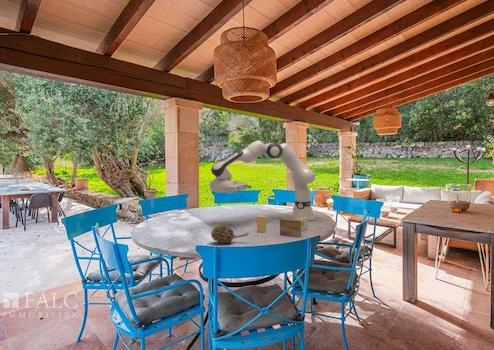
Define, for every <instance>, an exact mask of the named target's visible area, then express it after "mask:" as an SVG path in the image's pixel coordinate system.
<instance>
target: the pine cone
mask: <svg viewBox="0 0 494 350" xmlns="http://www.w3.org/2000/svg"><path fill="white" fill-rule="evenodd" d="M249 234H250V232H246V233H243V234H239V235H236V234H235V233H234V230H233V229H232V228H231V227H227V226H225V225H218V226H215V227H214V228H213V229H211V235H210V237H211V239H212V240H214V241H215V242H217V243H222V244H225V243H226V244H231V242H232V240H234V239H236V238H237V239H238V238H243V237H247V236H249Z"/></svg>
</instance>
